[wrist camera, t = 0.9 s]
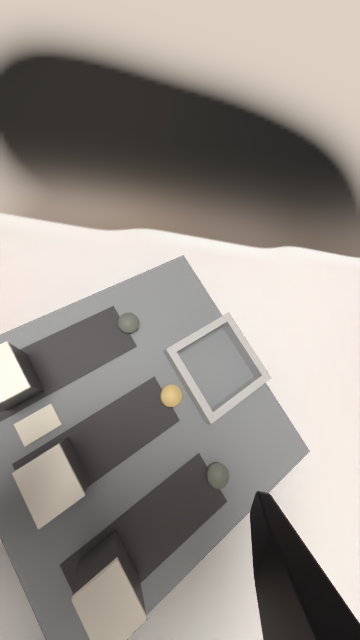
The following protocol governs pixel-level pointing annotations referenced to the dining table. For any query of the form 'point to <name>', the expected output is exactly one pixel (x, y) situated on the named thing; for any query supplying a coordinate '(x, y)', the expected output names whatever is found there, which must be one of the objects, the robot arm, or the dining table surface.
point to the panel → (139, 436)
